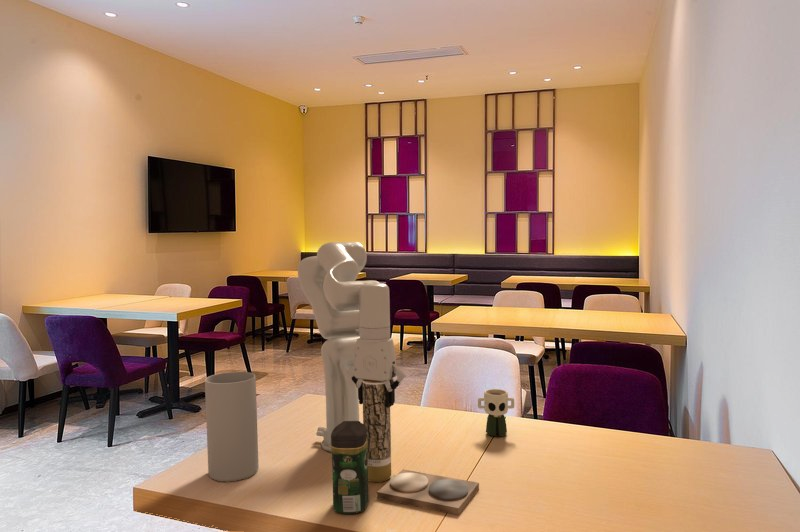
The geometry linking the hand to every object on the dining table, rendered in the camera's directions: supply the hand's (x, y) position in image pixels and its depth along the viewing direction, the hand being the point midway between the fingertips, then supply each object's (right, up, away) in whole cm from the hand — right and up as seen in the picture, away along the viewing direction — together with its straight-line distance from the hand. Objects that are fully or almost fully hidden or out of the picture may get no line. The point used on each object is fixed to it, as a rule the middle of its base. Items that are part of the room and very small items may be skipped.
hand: (376, 403), depth 144 cm
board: (+13, -19, -8) cm, 24 cm away
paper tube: (0, -19, +1) cm, 19 cm away
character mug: (+35, -17, +31) cm, 50 cm away
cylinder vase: (-37, -20, +6) cm, 42 cm away
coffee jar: (-5, -20, -14) cm, 25 cm away
